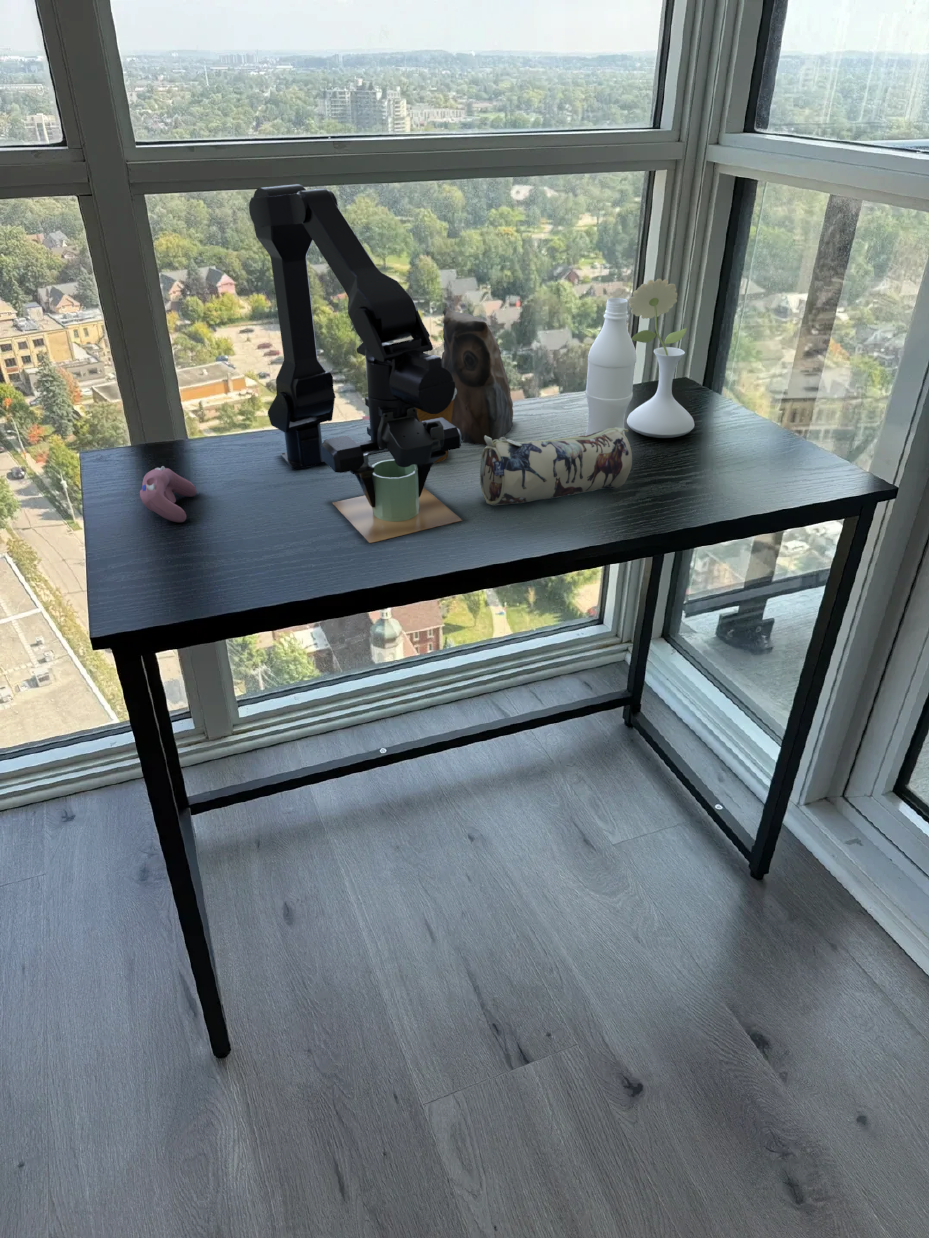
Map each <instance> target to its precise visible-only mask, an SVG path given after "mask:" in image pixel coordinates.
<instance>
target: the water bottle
mask: <svg viewBox="0 0 929 1238" xmlns="http://www.w3.org/2000/svg"><path fill="white" fill-rule="evenodd" d="M628 304H629V299H626V298H623V297H610V298H607V300H606V305H605V311H604V314H603V318H604V321H603V325H602V327H601V330H600V331H599V333H598V334H597V336H596V337H595V339H594V341H593V342H592V345H591V346H590V349H589V352H588V356H587V374H586V387H585V391H584V393H585V396H586V402H587V408H588V418H587V427H586V431H585V434H584V435H586V436H587V435H590V434H593V433H596V432H599V431H603V430H606V429H609V428H615V427H618V428H625V419H626V413H627V410H628V407H629V405H630V404H631V401H632V399H633V396H634V392H633V388H634V387H633V386H634V379H635V369H636V363H637V351H636V348H635V345H634V341H633V340H632V339H631V338H632V337H631V334H630V332H629V329H628V325H627V324H628V323H627V320H628V319H629V315H628V314H629V311H628V306H629V305H628ZM625 433H626V432H625V431H623V433H622V434H623V435H625V436H626V434H625Z"/></svg>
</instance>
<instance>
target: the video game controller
mask: <svg viewBox="0 0 929 1238" xmlns="http://www.w3.org/2000/svg"><path fill="white" fill-rule="evenodd" d="M141 485H142V487H141V489H140V490H139V498H140V500H141V502H142V504H143V505H144V506H145V508H147V510H149V511H151V512H154V513H155V514H157V515H159V516H160V517H162V518H164V519H165V520H168V521H171V522H174V523H184V522H185V521H187V514H186V511H185V510H184V509H183V508H182V507H181V506H179V505H178V504H176V502H177V498H176V496H175V494H176V495H179V496H183V497H190V498H192V497H195V496H196V495H197V492H198V490H197V488H196V486H195V484H193V483H192V482H191V481H190V480H189V479H186V478H185V477H183V476H181V475H179V474H177V473H176V472H175V471H173V470H172V469H170V468H168V467H165V466H164V465H162V466H161V467H155V468H154V469H152V470H149V471H148V472H146V474H145V475H144V477H143V479H142V484H141ZM174 493H175V494H174Z"/></svg>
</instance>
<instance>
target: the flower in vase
mask: <svg viewBox="0 0 929 1238" xmlns="http://www.w3.org/2000/svg"><path fill="white" fill-rule="evenodd" d="M632 295H633V296H631V297H629V298H628V304H629V305H628V307H629V308H630V314H632V315H634V316H635V317H640V316H641V318H642V319H649V320H651V319H654V327H655V332H654V331H652V330H649V329H643V330H640V331H638V332H637V333H635V334H634V335H633V336H632V337H631V339H632V342H639V343H643V344H646V343H650V342H651V341H653V340H654V339H655V338H656V337H657V339H658V340H659V342H660V344H661V347H657V348H654V349H653V353H654V355H655V357H656V360H657V363H658V383H657V389H656V392H655V394H654V395H653V396H652V397H651V398H649V399H648V400H646V401H645V402H643V403H642V404H640V405H639V406H638V407H636V408H634V409H633V410H632V411H631V412H630V413H629V414H628V416H627V419H626V423H627V426H628V428H630V429H631V430H632V432H633V431H634V432H635V433H637V434H640V435H642V436H645V437H650V438H656V439H672V438H673V439H674V438H678V437H682V436H685V435H688V434H689V433H690V432H691V431H692V430H693V429H694V428H695V421H694V418H693V416H692V415H691V414H690V413H689V411H688V410H686V409H685V408H684V407H683V405H681V404H680V403H679V402H678V401H677V400H676V399H675V397H674V395H673V392H672V390H673V381H674V375H675V372H676V369H677V365H678V363H679V361H681V358H682V357H683V356H684V355H685V354H686V351H685V350H683V349H681V348H678V347H674V346H673V347H672V346H666V345H670V344H675V343H678V342H679V341H681V340H682V339H683V338H684V337H685V335H686V333H687V331H688V330H687V329H688V327H684V328H683V329H680V330H677V331H674V332H671V333H669V334H667V336H666V338H665V340H664V342H663V339H662V337H661V336H660V333H659V330H658V317H660V316H662V315H663V314H668V313H669V312H670V309H672V308H673V307H674V305H675V304H677V302H678V292H677V287H676V284H675V283H669V280H668V279H666V278H665V279H662V278H657V279H656V280H653V279H649V280H648V281H647V282H646V283H642V284H640V286H639V287H637V289H636V290H634V291H632Z"/></svg>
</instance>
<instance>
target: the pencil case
mask: <svg viewBox="0 0 929 1238" xmlns="http://www.w3.org/2000/svg"><path fill="white" fill-rule="evenodd" d="M623 431H625V433H629V429H628V428H625V427H624V428H618V427H615V428H609V429H606V430H603V431H599V432H596V433H593V434H590V435H587V436H586V435H585V434H583V435H575V436H567V437H558V438H551V439H544V440H543V439H542V440H541V439H540V440H528V441H514V440H512V439H507V438H506V437H505V436H504V437H501V438H500V439H499V440H493V441H492V438H490V437H487V436H486V435H485V437H484V439H485V441H486V443H487V445H488V446H485V447H484V448H483V450H482V453H481V457H480V465H479V466H480V467H479V483H480V484H479V486H480V490H481V493H482V497H483V498H484V500H485V501H486V504H488V505H489V506H503V505H513V504H523V503H530V502H534V501H538V500H539V501H540V500H549V499H556V498H562V497H567V496H574V495H577V494H583V493H589V492H594V491H598V490H602V489H604V490H605V489H606V490H607V489H609V490H611V489H612V490H613V489H618V488H621V487H622V486H623V485H624V484H625V483H626V482H627V480H628V478H629V475H630V473H631V470H632V466H633V453H632V448H631V444H630V442H629V440H628V438H627V436H626V434H625V435H623V434H622V433H623Z"/></svg>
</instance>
